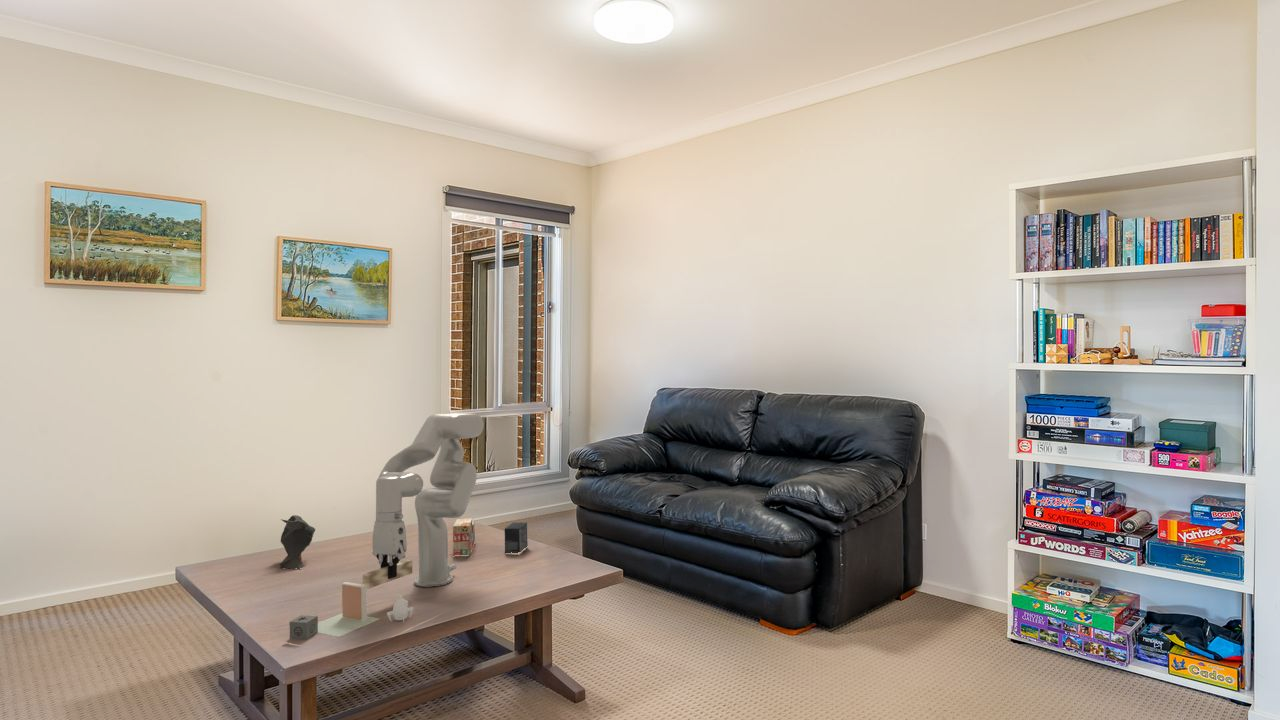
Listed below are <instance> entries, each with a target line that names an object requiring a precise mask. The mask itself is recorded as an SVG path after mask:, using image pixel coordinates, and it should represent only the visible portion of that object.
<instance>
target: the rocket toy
mask: <svg viewBox="0 0 1280 720" xmlns="http://www.w3.org/2000/svg"><path fill="white" fill-rule="evenodd" d="M409 603H410V602H409V601H408V600H407V599H405V598H404V596H403V595H401V593H400V595H398V596H397V599H396V601H395V602H394V605H393V606H392V610H391V611H388V612H386V615H387V618H388V619H389V621H390V622H392V621H393V620H392V617H391V616H393V618H394V620H395V621H402V623H405V620H406V619H407V617H408V614H409V618H411V617H412V614H413V612H414V606H411V607H409Z"/></svg>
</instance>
